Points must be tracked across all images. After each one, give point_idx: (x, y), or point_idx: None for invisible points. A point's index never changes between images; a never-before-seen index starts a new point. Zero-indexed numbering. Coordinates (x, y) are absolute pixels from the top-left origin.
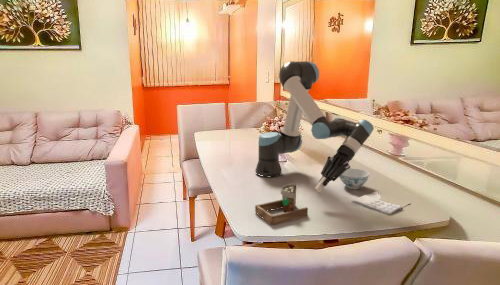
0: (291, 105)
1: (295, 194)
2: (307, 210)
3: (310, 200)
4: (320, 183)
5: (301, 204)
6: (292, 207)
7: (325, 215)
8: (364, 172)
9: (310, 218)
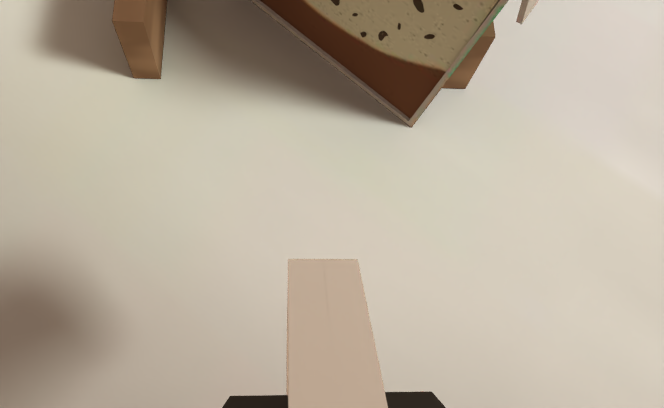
0: None
1: (436, 22)
2: (119, 36)
3: (489, 397)
4: (308, 348)
5: (425, 213)
6: None
7: (18, 253)
8: None
9: (69, 68)
